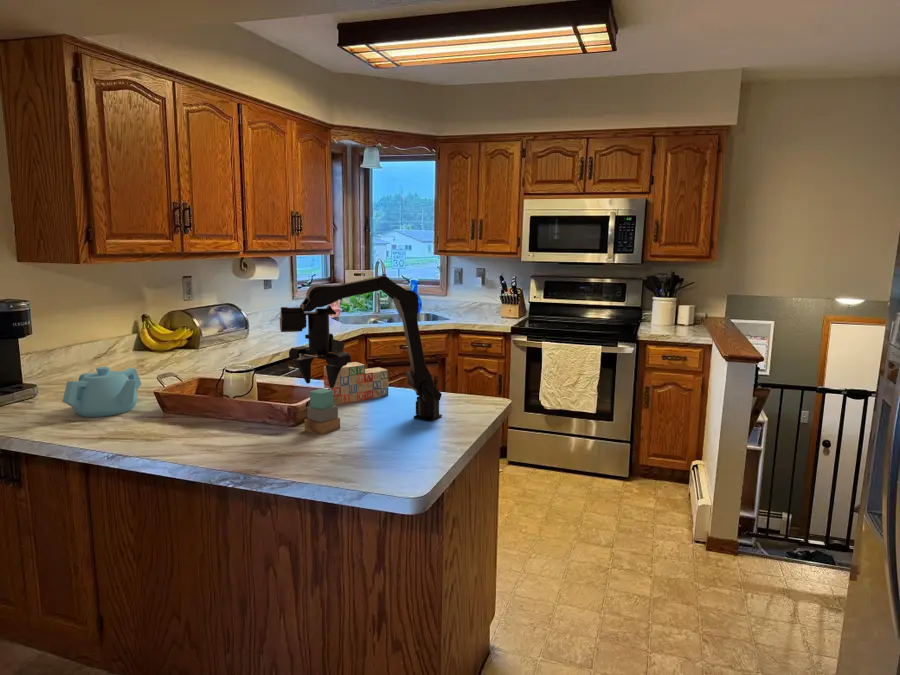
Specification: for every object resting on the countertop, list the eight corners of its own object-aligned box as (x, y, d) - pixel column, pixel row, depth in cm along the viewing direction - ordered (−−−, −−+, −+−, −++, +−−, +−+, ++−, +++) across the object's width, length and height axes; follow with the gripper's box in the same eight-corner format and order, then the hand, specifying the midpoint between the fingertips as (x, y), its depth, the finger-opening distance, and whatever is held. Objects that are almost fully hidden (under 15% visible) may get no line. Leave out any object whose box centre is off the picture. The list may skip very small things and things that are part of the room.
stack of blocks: (379, 392, 208) (379, 358, 206) (388, 396, 203) (388, 361, 201) (324, 401, 195) (323, 365, 193) (332, 405, 190) (331, 368, 188)
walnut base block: (340, 429, 167) (340, 417, 166) (322, 436, 161) (322, 423, 160) (322, 425, 171) (322, 413, 170) (304, 431, 165) (304, 419, 164)
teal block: (333, 405, 165) (332, 390, 165) (321, 409, 162) (321, 393, 161) (321, 403, 168) (321, 388, 167) (310, 407, 164) (309, 391, 163)
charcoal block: (337, 418, 166) (337, 406, 165) (321, 422, 161) (320, 410, 161) (324, 414, 170) (323, 402, 169) (307, 418, 165) (307, 406, 164)
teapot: (63, 421, 171) (59, 375, 169) (79, 404, 188) (75, 362, 186) (137, 415, 177) (134, 371, 175) (145, 400, 195) (142, 359, 193)
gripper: (363, 330, 164) (364, 384, 166) (315, 324, 173) (316, 376, 176) (336, 335, 154) (337, 392, 157) (286, 329, 164) (288, 383, 167)
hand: (320, 385), depth 164 cm, fingers open, 9 cm apart
